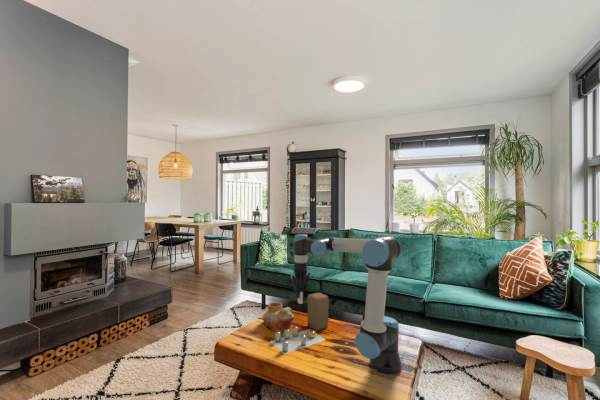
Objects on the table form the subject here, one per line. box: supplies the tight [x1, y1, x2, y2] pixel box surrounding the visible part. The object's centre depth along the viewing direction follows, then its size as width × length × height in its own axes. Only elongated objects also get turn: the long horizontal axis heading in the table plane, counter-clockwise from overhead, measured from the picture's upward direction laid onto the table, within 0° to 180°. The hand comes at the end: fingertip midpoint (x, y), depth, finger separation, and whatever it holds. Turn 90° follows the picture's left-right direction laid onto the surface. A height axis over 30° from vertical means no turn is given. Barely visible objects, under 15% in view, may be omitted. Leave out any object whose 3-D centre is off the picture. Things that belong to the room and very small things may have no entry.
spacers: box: [274, 325, 306, 353], centre depth 163 cm, size 14×17×5 cm
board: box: [269, 328, 327, 355], centre depth 165 cm, size 16×28×1 cm, turn 125°
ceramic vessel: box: [262, 301, 296, 334], centre depth 183 cm, size 14×26×15 cm, turn 37°
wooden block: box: [307, 292, 329, 331], centre depth 186 cm, size 10×10×20 cm
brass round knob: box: [306, 328, 317, 339], centre depth 170 cm, size 5×5×3 cm
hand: (300, 303), depth 166 cm, fingers closed
